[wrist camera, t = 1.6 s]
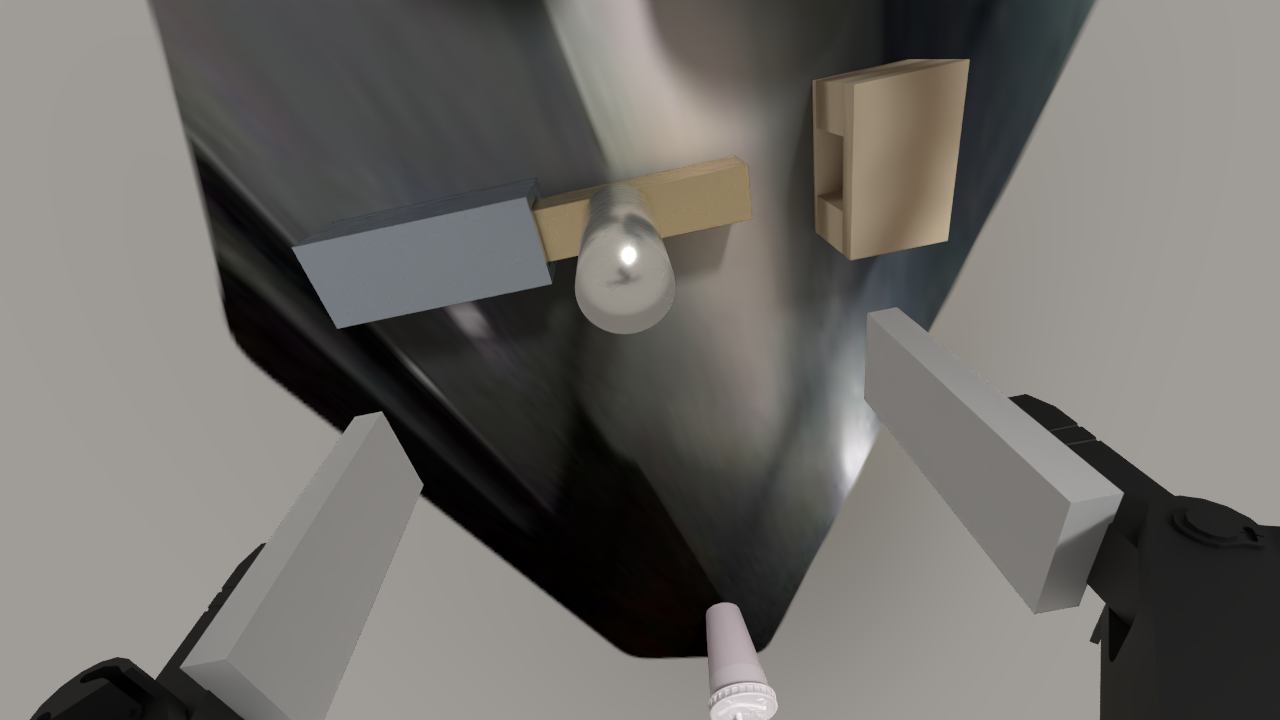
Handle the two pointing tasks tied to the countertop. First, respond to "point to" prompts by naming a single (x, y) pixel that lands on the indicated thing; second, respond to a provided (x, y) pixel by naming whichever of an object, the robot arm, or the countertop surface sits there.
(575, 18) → the countertop surface
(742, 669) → the smoothie
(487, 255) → the sleeve
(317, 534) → the robot arm
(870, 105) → the socket block
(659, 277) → the bar with upright post
